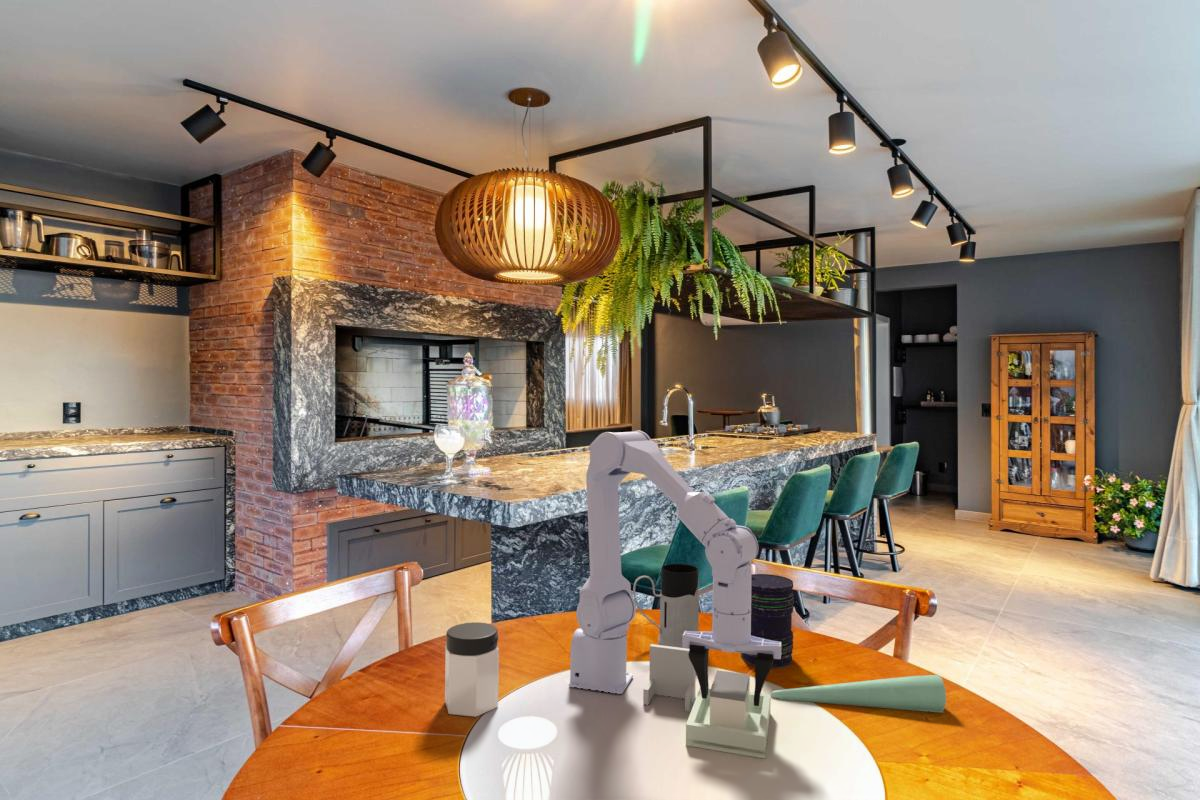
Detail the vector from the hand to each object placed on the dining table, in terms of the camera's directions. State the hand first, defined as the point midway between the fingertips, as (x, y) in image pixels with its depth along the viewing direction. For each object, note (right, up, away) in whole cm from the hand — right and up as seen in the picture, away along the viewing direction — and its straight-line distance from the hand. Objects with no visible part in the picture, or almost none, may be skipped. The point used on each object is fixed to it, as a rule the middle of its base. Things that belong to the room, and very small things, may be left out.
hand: (730, 699), depth 101 cm
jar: (-40, -4, +7) cm, 41 cm away
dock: (-8, -4, +9) cm, 13 cm away
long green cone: (+22, -5, +10) cm, 25 cm away
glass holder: (-6, -5, +36) cm, 37 cm away
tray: (0, -4, 0) cm, 4 cm away
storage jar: (+12, -5, +28) cm, 31 cm away
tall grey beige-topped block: (0, -3, 0) cm, 3 cm away
